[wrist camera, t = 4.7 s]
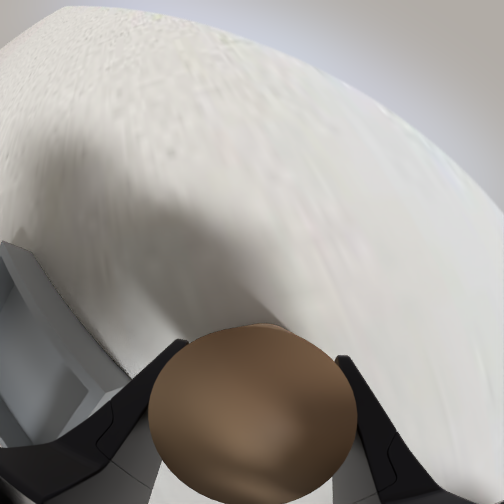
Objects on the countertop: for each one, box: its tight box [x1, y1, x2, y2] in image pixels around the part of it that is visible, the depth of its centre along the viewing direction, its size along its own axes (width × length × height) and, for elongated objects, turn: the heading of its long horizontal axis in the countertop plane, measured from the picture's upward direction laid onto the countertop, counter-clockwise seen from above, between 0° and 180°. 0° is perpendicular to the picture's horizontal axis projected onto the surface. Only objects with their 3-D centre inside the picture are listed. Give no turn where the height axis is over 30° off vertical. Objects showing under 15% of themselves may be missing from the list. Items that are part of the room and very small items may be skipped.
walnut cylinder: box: [148, 323, 357, 504], centre depth 10 cm, size 5×5×10 cm
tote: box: [0, 241, 131, 448], centre depth 14 cm, size 14×14×4 cm
